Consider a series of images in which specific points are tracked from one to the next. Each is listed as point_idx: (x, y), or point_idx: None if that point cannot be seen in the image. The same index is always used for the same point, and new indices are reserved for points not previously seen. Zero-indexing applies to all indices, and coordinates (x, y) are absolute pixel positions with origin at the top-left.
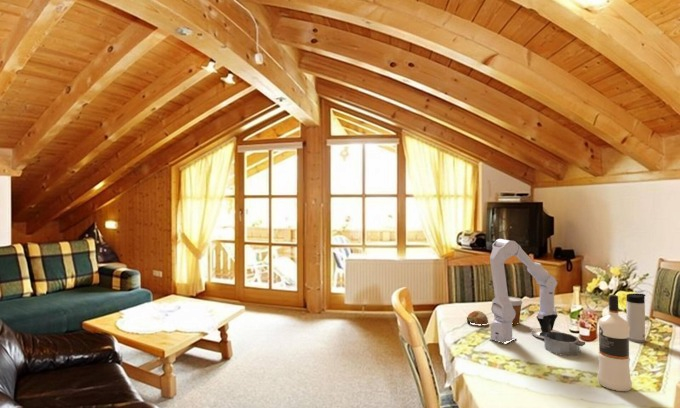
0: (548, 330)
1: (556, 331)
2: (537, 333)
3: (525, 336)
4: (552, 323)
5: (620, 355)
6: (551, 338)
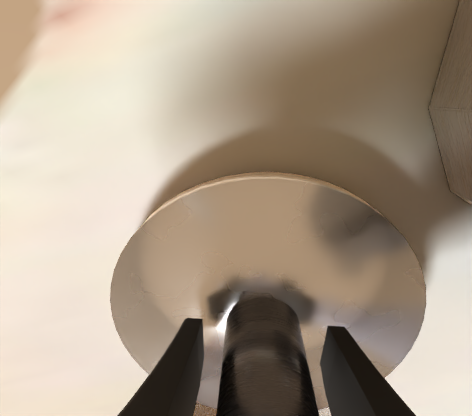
0: (297, 344)
1: (141, 280)
2: None
3: None
4: (172, 409)
5: None
6: None
